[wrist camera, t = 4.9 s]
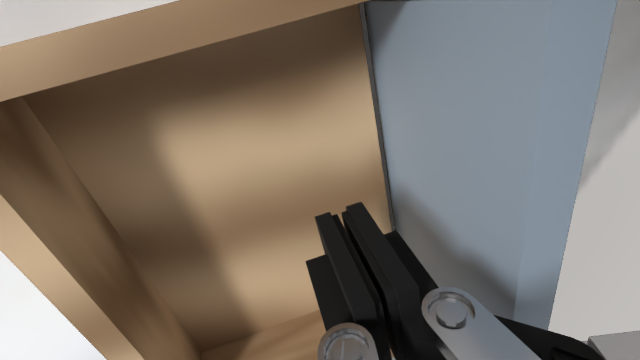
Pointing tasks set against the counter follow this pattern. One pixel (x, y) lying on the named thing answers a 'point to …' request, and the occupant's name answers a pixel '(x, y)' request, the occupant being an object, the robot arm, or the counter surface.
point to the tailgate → (488, 136)
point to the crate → (188, 172)
